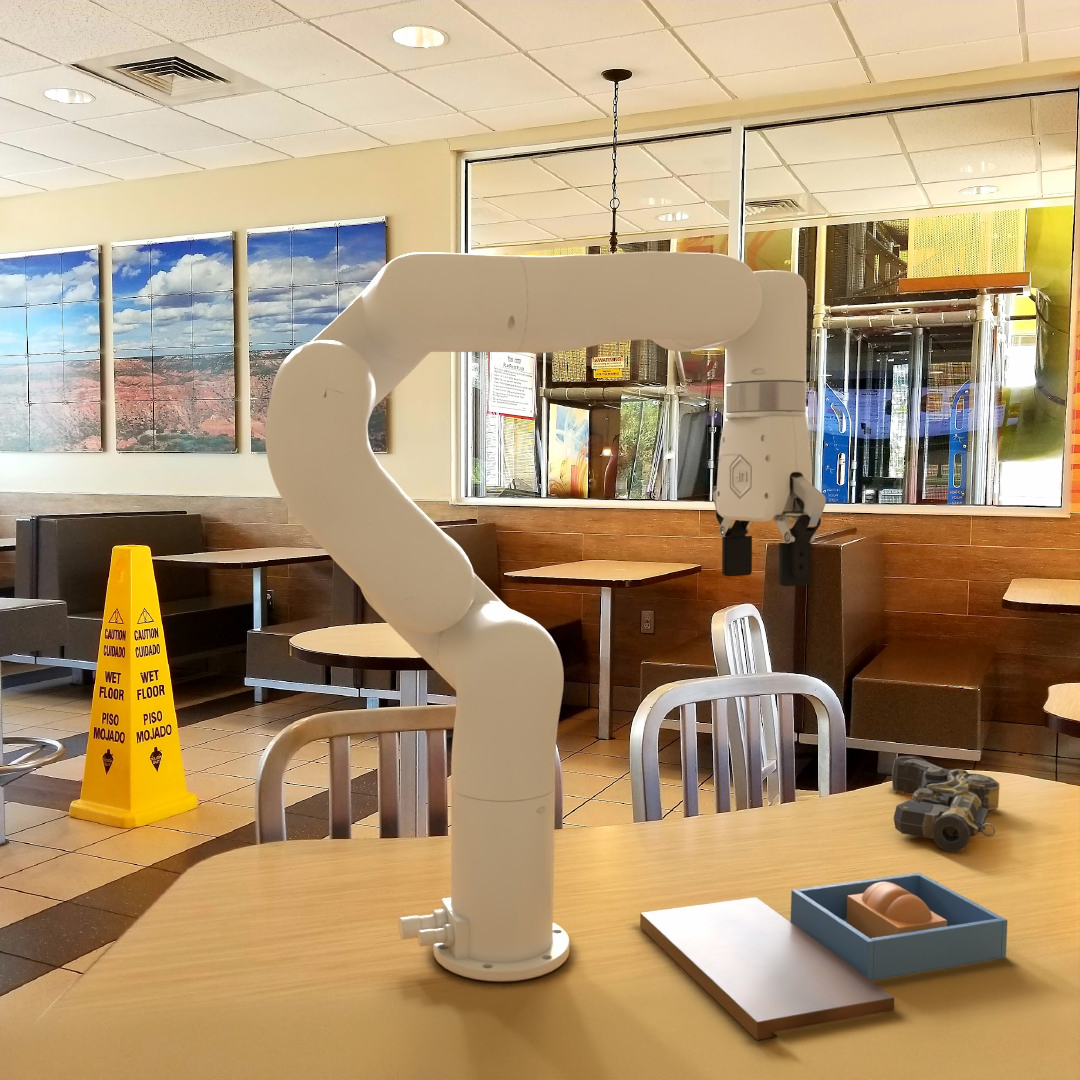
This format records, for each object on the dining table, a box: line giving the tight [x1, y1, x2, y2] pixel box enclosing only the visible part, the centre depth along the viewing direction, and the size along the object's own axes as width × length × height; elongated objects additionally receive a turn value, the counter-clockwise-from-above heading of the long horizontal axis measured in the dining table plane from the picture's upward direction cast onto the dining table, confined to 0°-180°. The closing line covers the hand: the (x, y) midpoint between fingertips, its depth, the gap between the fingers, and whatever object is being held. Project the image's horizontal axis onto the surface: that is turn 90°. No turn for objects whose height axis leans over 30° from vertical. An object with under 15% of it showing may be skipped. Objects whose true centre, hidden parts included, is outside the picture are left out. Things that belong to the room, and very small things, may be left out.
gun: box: [891, 755, 1000, 852], centre depth 140 cm, size 5×26×15 cm
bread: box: [847, 882, 947, 939], centre depth 102 cm, size 5×8×5 cm
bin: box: [790, 872, 1008, 982], centre depth 102 cm, size 15×12×4 cm
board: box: [639, 896, 895, 1041], centre depth 97 cm, size 13×22×2 cm, turn 19°
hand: (764, 580), depth 105 cm, fingers open, 9 cm apart
